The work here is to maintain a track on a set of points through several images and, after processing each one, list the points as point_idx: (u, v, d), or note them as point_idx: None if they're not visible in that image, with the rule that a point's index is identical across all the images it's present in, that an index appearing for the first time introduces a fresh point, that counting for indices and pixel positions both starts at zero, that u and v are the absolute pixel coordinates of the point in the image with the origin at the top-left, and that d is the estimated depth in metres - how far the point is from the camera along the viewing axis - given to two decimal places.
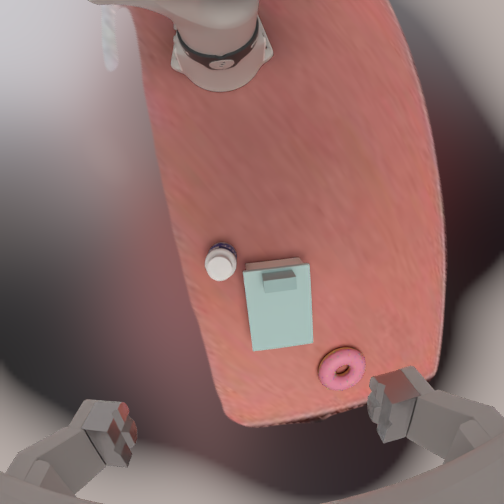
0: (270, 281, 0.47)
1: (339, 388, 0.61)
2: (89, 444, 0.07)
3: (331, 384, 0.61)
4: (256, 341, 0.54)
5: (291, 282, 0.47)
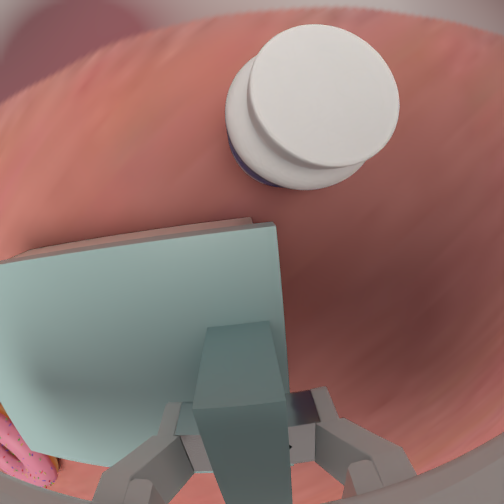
0: (275, 433, 0.06)
1: None
2: (183, 451, 0.07)
3: None
4: None
5: (262, 499, 0.07)
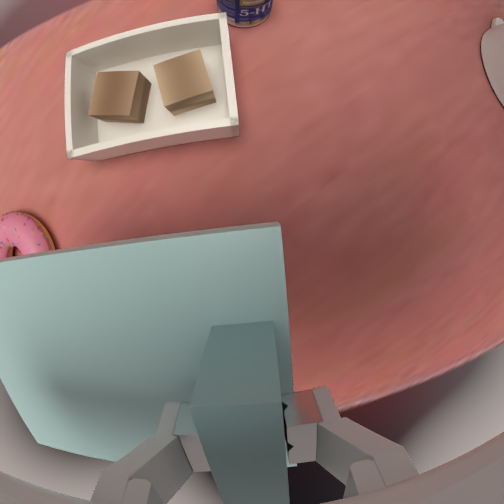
0: (271, 433, 0.06)
1: None
2: (181, 451, 0.07)
3: None
4: None
5: (260, 498, 0.07)
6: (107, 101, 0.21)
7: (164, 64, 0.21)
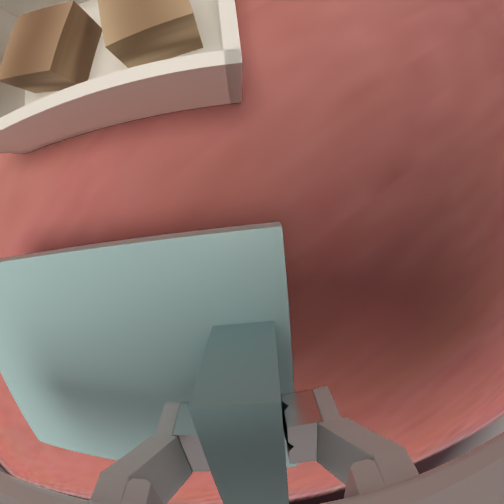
0: (270, 433, 0.06)
1: None
2: (181, 451, 0.07)
3: None
4: None
5: (259, 498, 0.07)
6: (22, 55, 0.09)
7: None
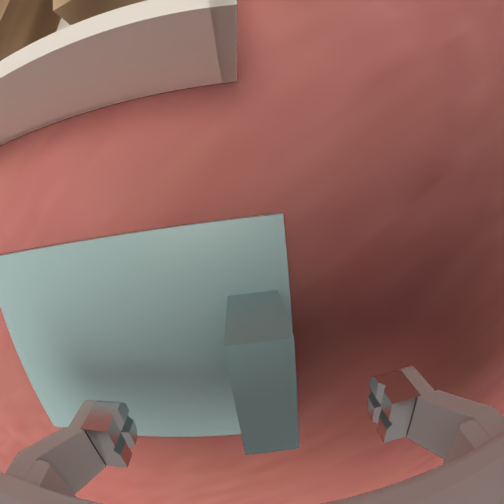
0: (286, 367, 0.09)
1: None
2: (89, 444, 0.07)
3: None
4: (13, 270, 0.12)
5: (274, 438, 0.10)
6: None
7: None
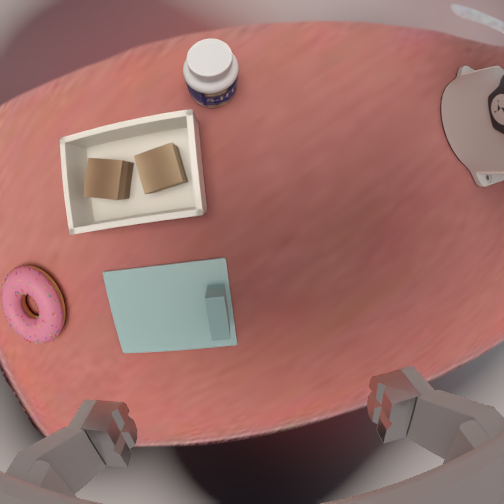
0: (222, 305, 0.32)
1: (3, 303, 0.30)
2: (89, 444, 0.07)
3: (7, 289, 0.30)
4: (118, 277, 0.34)
5: (221, 333, 0.32)
6: (98, 186, 0.28)
7: (143, 156, 0.28)
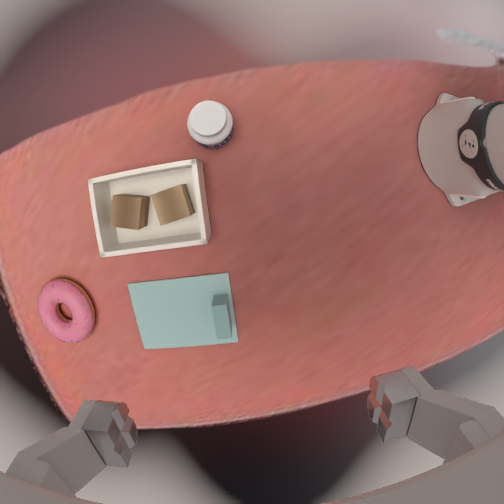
0: (225, 311, 0.40)
1: (40, 310, 0.40)
2: (89, 444, 0.07)
3: (44, 299, 0.39)
4: (140, 288, 0.43)
5: (224, 333, 0.41)
6: (122, 218, 0.36)
7: (158, 195, 0.36)
